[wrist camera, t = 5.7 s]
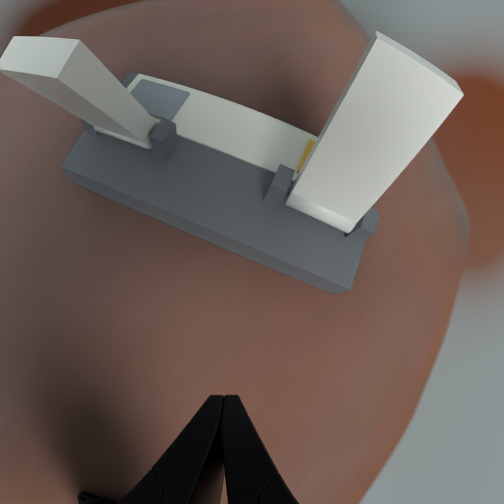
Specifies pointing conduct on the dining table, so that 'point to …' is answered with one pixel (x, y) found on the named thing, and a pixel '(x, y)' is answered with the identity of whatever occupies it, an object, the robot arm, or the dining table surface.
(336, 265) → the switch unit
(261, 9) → the dining table surface
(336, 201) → the white switch lever
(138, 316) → the dining table surface
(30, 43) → the lever slate
